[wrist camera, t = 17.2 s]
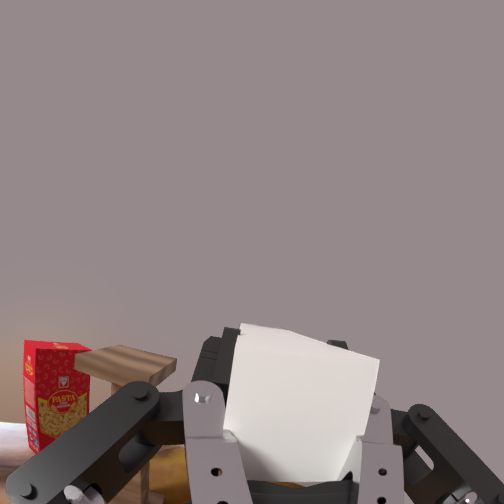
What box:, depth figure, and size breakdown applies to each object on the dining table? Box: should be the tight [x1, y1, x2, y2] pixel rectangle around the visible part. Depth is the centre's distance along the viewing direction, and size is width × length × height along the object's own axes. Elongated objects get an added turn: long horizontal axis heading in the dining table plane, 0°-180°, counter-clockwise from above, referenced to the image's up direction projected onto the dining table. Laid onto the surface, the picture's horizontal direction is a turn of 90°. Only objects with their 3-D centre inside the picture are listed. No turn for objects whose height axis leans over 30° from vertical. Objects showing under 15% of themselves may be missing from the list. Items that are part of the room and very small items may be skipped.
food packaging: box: [23, 340, 92, 454], centre depth 42 cm, size 15×5×25 cm, turn 162°
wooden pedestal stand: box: [74, 345, 177, 504], centre depth 31 cm, size 14×10×30 cm
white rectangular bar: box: [223, 323, 380, 482], centre depth 16 cm, size 20×4×4 cm, turn 1°
